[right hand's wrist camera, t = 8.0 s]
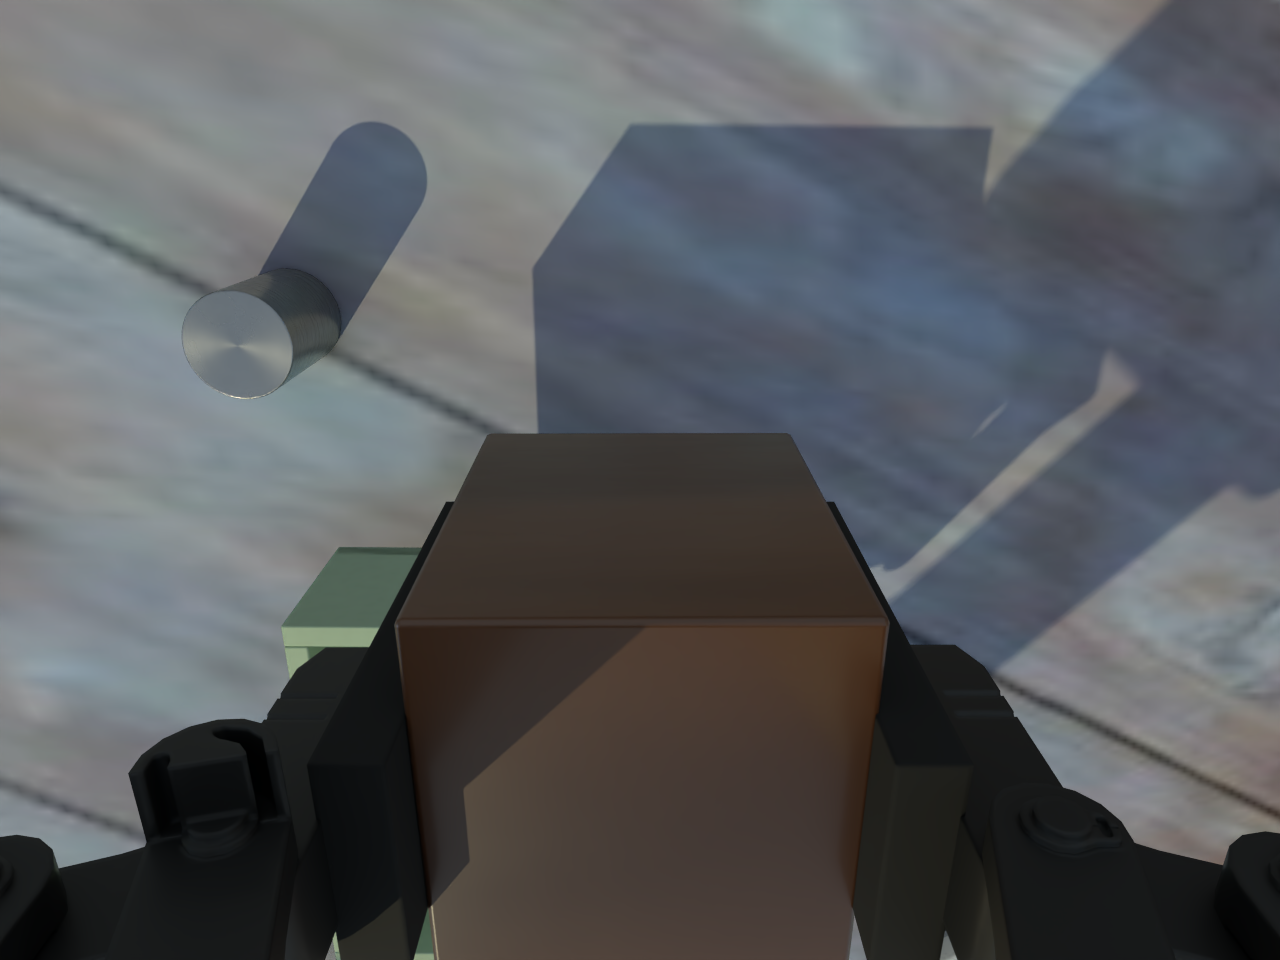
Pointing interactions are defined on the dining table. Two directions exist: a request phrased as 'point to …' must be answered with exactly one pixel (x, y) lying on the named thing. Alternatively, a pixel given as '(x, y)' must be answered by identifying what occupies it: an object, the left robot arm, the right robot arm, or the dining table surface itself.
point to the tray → (350, 623)
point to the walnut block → (641, 703)
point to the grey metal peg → (260, 332)
